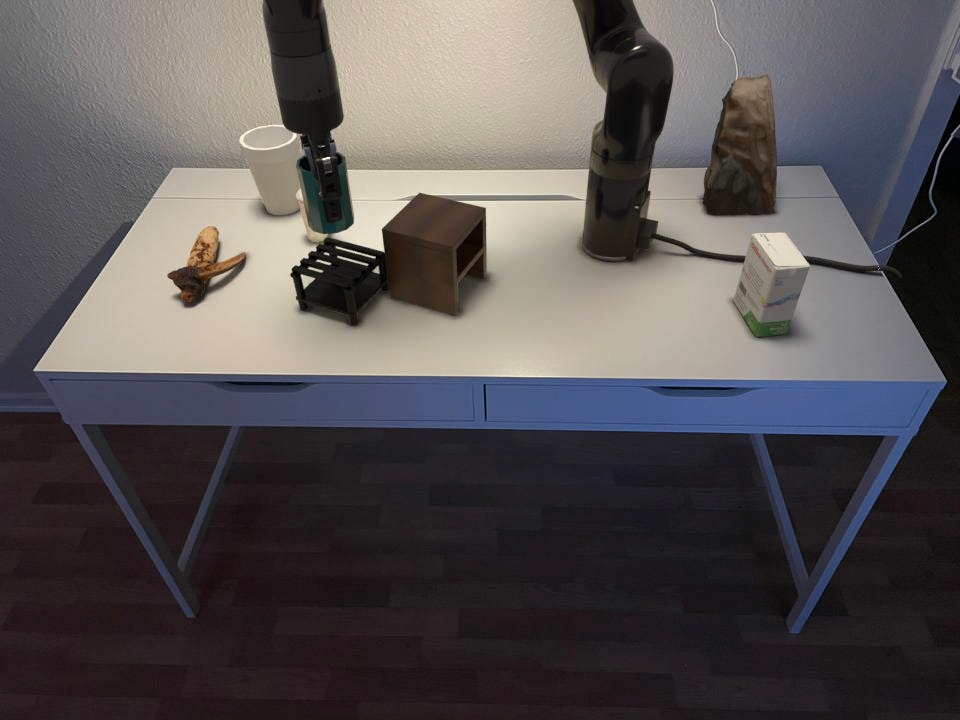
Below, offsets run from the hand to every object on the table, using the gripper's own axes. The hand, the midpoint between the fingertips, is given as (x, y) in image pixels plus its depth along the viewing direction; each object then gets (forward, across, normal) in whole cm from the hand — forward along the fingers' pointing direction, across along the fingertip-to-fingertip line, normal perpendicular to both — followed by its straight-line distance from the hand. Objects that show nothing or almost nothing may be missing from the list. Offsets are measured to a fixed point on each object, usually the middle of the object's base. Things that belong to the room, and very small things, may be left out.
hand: (329, 207), depth 98 cm
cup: (+2, 0, 0) cm, 2 cm away
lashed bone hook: (+16, +14, +18) cm, 28 cm away
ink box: (+16, -26, -55) cm, 63 cm away
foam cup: (+16, +31, +5) cm, 35 cm away
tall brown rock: (+16, +2, -70) cm, 72 cm away
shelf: (+16, -2, -14) cm, 21 cm away
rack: (+16, 0, 0) cm, 16 cm away
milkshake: (+16, +18, 0) cm, 24 cm away
